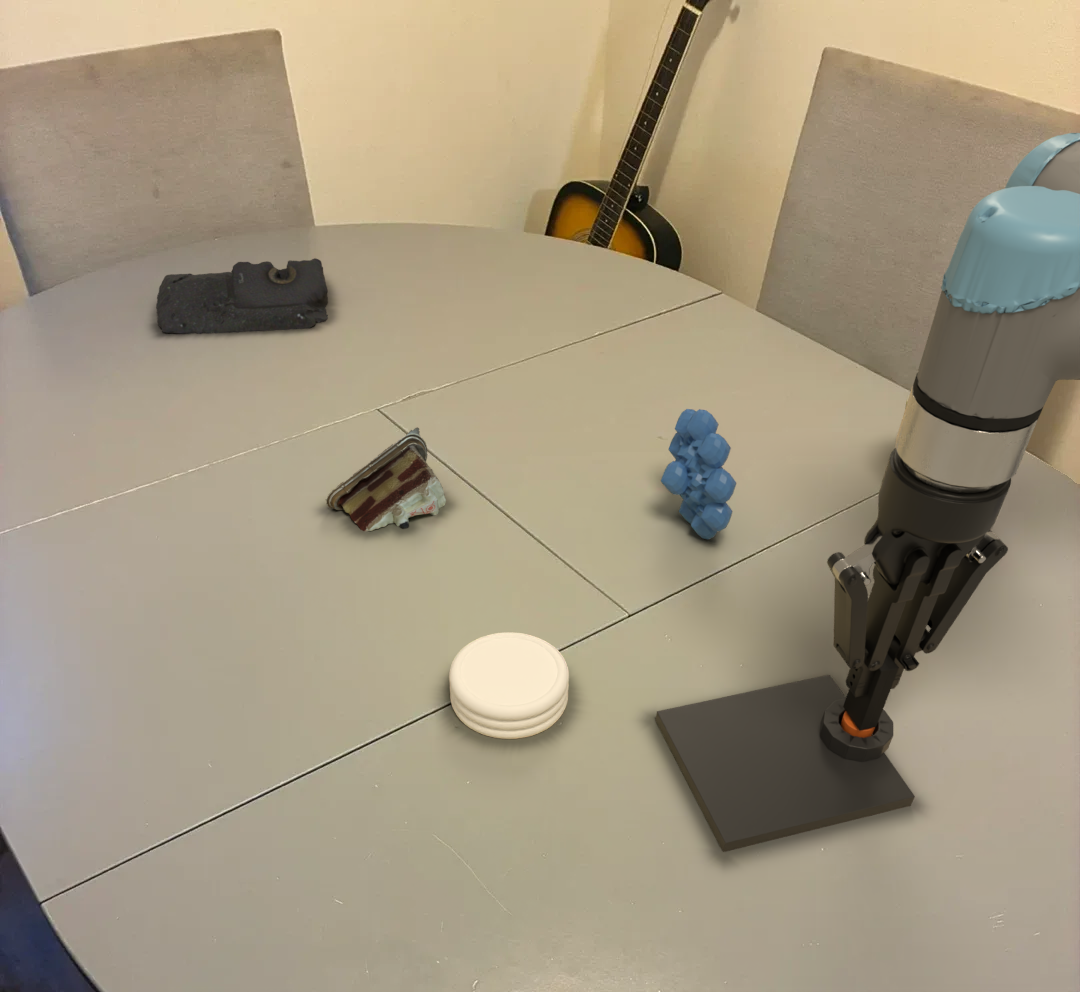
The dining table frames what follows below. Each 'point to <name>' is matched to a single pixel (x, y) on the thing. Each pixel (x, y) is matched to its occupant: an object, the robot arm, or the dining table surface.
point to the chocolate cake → (391, 487)
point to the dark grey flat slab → (781, 762)
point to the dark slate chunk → (244, 299)
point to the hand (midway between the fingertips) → (859, 716)
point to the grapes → (700, 473)
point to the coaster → (509, 685)
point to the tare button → (854, 727)
